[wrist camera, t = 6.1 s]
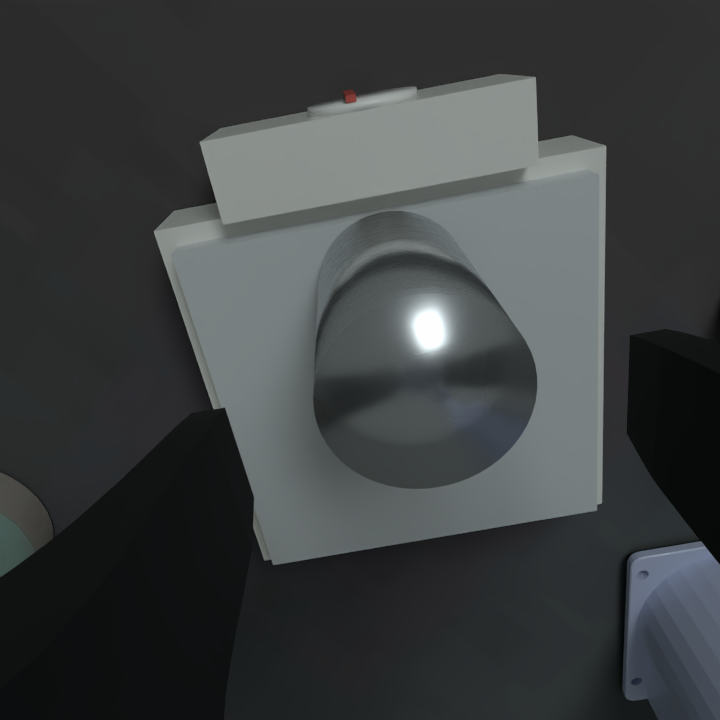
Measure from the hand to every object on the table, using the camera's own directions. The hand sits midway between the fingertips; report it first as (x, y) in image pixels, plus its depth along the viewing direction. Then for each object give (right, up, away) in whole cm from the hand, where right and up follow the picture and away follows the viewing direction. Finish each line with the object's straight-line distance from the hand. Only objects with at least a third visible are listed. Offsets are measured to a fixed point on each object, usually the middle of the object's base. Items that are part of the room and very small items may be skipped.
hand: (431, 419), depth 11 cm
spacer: (0, +3, +5) cm, 6 cm away
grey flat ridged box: (0, +2, +9) cm, 10 cm away
